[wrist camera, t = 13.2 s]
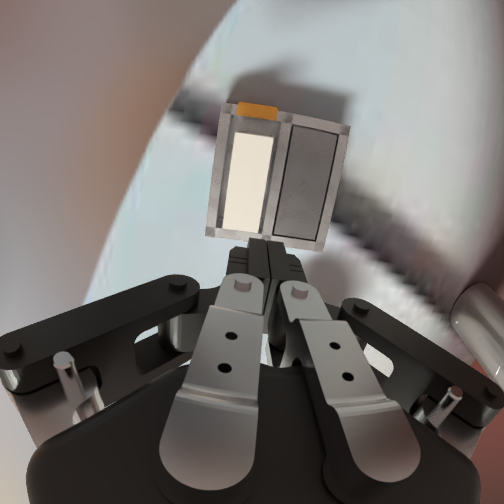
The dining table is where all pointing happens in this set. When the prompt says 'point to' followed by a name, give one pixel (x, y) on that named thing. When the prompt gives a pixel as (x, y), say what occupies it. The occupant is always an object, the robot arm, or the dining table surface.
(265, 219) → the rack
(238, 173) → the panel
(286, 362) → the robot arm
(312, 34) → the dining table surface
